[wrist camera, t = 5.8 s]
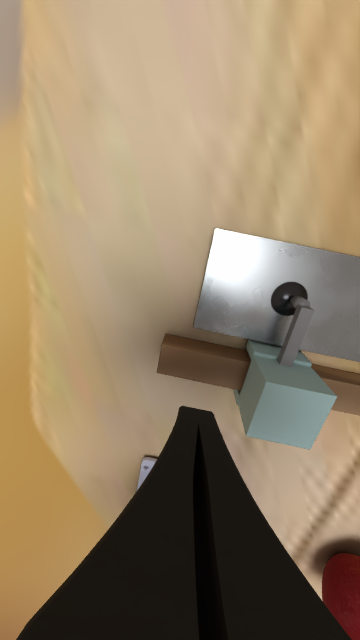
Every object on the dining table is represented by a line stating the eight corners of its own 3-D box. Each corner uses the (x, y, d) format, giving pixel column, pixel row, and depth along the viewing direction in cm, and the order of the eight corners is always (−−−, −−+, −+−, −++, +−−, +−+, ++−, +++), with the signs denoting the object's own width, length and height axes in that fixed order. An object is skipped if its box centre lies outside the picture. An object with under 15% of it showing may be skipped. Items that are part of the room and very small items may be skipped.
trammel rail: (445, 422, 19) (527, 483, 14) (160, 362, 19) (147, 402, 14) (509, 336, 16) (637, 375, 11) (177, 268, 16) (168, 279, 12)
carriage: (280, 398, 19) (308, 452, 14) (232, 388, 19) (244, 439, 14) (321, 298, 16) (374, 323, 11) (265, 287, 16) (294, 306, 11)
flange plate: (475, 382, 17) (489, 389, 17) (193, 323, 18) (193, 328, 17) (540, 294, 15) (560, 297, 14) (214, 229, 15) (215, 228, 15)
